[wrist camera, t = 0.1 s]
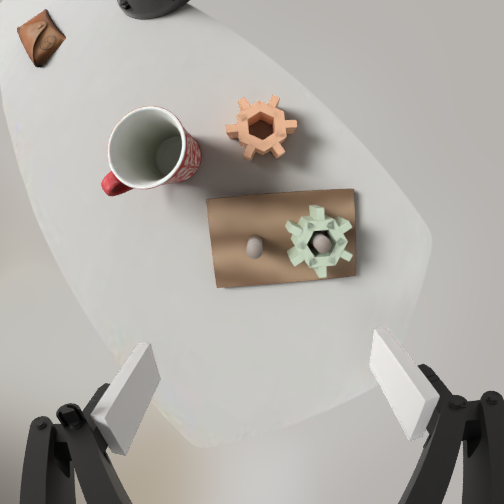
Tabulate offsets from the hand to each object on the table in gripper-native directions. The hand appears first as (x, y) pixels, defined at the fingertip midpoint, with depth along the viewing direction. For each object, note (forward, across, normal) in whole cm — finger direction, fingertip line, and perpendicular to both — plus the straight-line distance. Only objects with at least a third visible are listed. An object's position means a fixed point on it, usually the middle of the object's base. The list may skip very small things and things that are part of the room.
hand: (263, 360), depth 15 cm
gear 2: (+26, +8, +2) cm, 28 cm away
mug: (+28, -12, +14) cm, 34 cm away
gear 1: (+28, +1, +17) cm, 33 cm away
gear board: (+28, +4, +2) cm, 28 cm away
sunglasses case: (+28, -42, +50) cm, 71 cm away
